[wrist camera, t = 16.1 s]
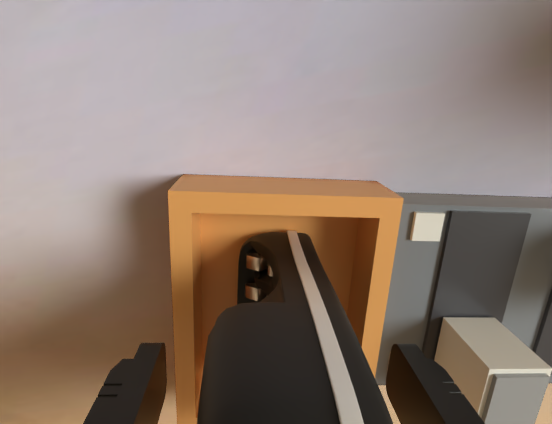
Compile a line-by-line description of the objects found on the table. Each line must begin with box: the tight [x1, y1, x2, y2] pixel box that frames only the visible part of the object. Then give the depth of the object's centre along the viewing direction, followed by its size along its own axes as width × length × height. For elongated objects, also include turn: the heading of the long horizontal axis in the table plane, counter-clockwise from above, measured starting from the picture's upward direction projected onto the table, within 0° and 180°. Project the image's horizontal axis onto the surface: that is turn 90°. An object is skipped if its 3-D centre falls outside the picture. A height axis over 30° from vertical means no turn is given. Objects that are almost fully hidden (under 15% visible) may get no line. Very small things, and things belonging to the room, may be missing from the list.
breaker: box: [434, 317, 552, 424], centre depth 15 cm, size 2×3×3 cm
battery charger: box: [197, 230, 393, 424], centre depth 11 cm, size 7×4×11 cm, turn 176°
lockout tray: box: [168, 174, 404, 424], centre depth 16 cm, size 9×11×3 cm
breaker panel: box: [375, 193, 552, 385], centre depth 17 cm, size 12×9×2 cm
